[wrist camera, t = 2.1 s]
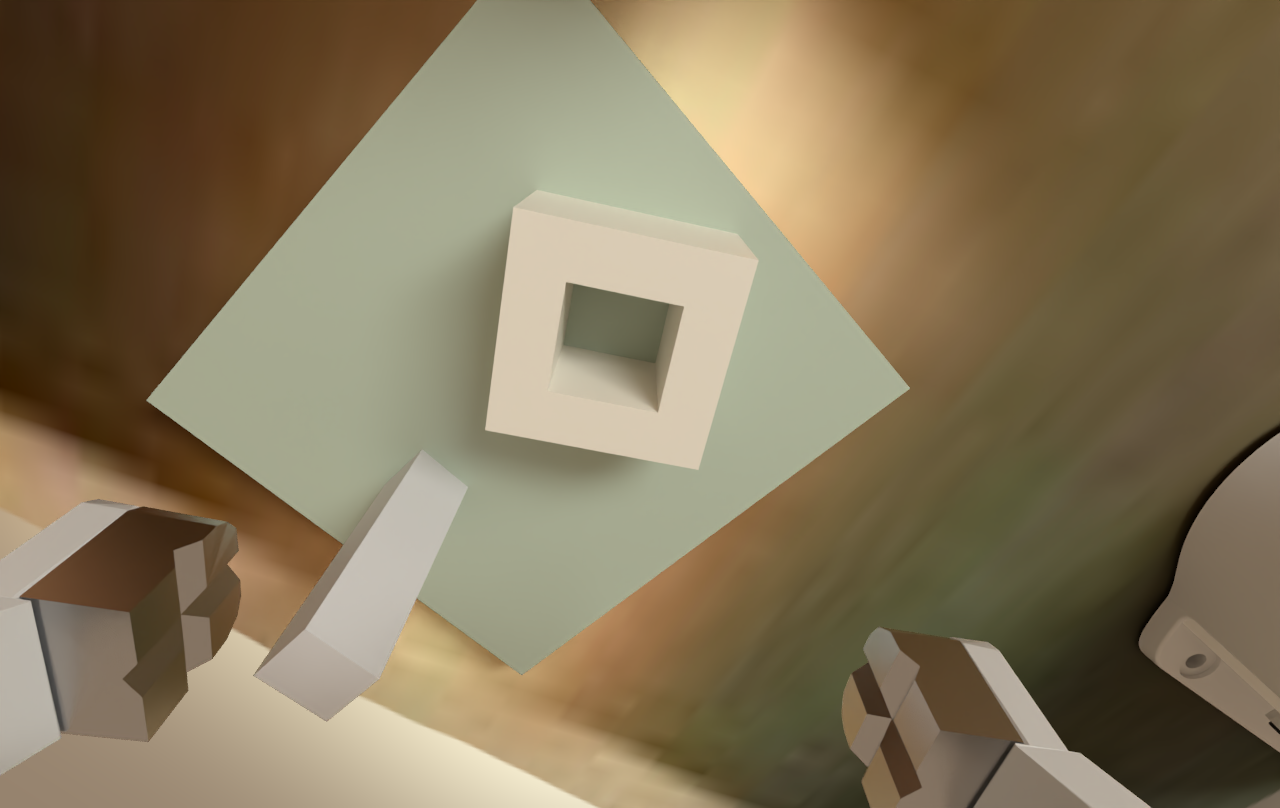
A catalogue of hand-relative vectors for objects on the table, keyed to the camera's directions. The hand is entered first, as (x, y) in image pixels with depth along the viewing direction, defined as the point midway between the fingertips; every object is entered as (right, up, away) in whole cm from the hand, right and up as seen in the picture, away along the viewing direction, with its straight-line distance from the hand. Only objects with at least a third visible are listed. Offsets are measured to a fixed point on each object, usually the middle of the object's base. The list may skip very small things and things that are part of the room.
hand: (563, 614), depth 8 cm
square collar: (0, +6, +13) cm, 14 cm away
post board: (-3, +4, +16) cm, 16 cm away
